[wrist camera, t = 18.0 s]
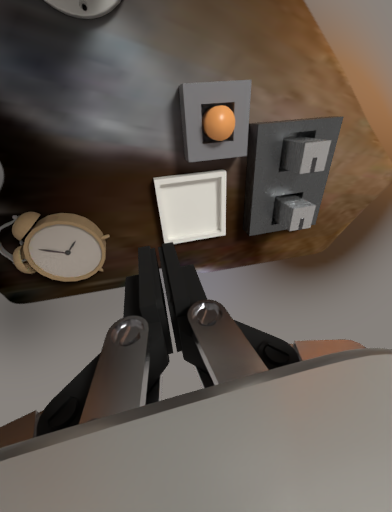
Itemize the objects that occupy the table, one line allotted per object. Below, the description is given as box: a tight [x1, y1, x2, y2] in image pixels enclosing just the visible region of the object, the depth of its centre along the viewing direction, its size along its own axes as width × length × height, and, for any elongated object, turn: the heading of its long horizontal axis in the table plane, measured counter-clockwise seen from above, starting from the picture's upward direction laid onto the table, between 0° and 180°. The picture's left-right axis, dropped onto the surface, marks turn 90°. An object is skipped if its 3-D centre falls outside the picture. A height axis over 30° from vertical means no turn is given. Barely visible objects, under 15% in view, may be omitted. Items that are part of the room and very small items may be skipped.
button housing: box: [179, 80, 251, 162], centre depth 31 cm, size 9×9×3 cm
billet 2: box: [272, 194, 316, 231], centre depth 39 cm, size 4×4×7 cm
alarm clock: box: [0, 212, 110, 282], centre depth 35 cm, size 11×5×15 cm
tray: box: [153, 169, 226, 244], centre depth 38 cm, size 12×12×2 cm
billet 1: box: [279, 137, 331, 174], centre depth 34 cm, size 4×4×7 cm
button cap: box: [202, 105, 235, 141], centre depth 30 cm, size 4×4×2 cm
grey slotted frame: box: [243, 117, 343, 236], centre depth 38 cm, size 18×14×3 cm
